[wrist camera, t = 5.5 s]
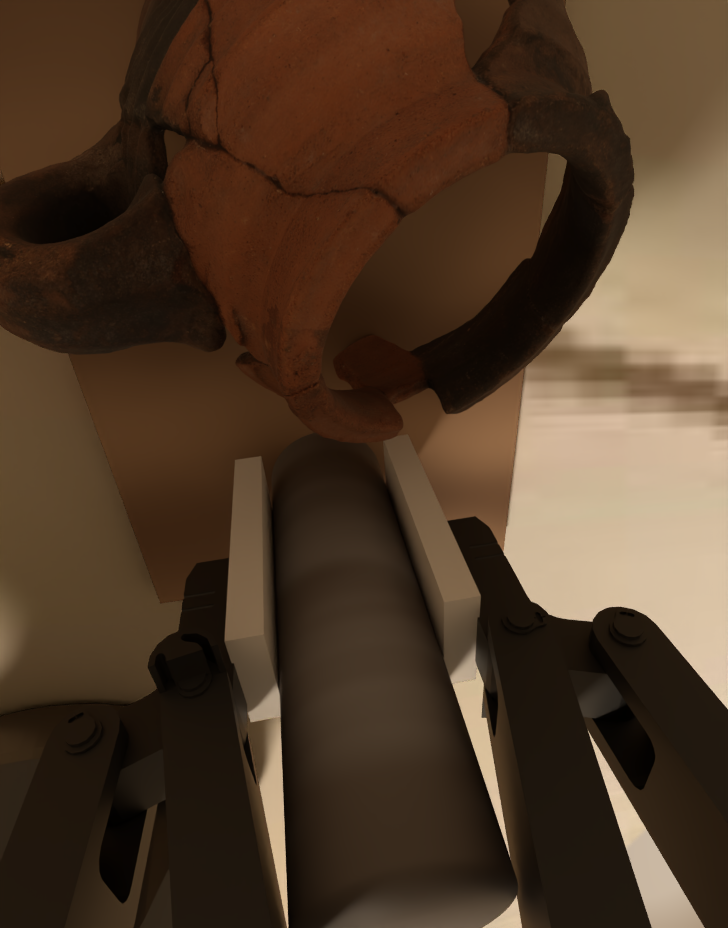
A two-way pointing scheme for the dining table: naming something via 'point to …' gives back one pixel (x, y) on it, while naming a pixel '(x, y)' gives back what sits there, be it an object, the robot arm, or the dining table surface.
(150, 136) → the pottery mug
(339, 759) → the brown board with post
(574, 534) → the dining table surface
